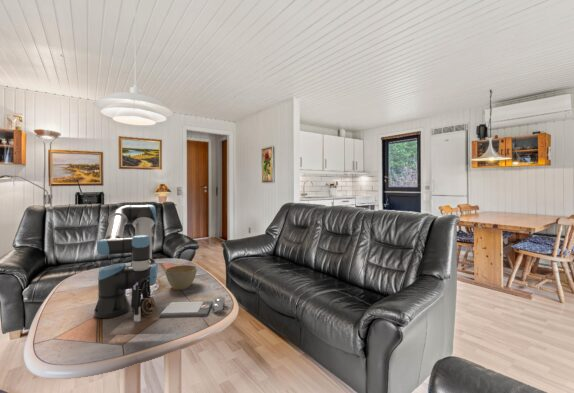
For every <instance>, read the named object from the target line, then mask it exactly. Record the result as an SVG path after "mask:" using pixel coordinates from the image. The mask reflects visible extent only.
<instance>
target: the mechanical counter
mask: <svg viewBox="0 0 574 393" xmlns="http://www.w3.org/2000/svg"><path fill="white" fill-rule="evenodd" d="M149 297H150V298H148V299H147V298H143V297H142V298H141V301H140V306H141V318H145V317H148V316H150V315H152V314H153V312H155V311H156V310H157V309H158V308H157V304H156V301H155V299H154V296H149ZM131 311H132V314H134V308H131Z"/></svg>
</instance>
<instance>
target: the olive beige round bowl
mask: <svg viewBox="0 0 574 393" xmlns="http://www.w3.org/2000/svg"><path fill="white" fill-rule="evenodd" d="M197 270H198V267H197V266H195V265H191V264H190V265H189V264H184V265H183V264H181V265H175V266H169V267H168V268H166V269H165V276H166V280H167V282H168V283H169V285H170V286H171V288H172V289H173V290H176V291H182V290H186V289H188V288H190V287H191V285H192V284H193V282H194V281H195V278H196V274H197Z"/></svg>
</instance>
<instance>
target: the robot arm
mask: <svg viewBox="0 0 574 393" xmlns="http://www.w3.org/2000/svg"><path fill="white" fill-rule="evenodd" d="M107 222H108V226H107V230H106V233H105V236H104V238H103V239H99V240H98V241H97V244H96V251H97V252H96V253H97V255H98V256H111V255H112V256H113V255H121V254H123V255H124V254H131V263H130V265H126V263H124V262H123V263H122V262H120V263H114V264H110V265H106V266H104V267H102V268H100V270H99V271H98V278H97V280H98V281H97V283H98V284H97V285H98V297H97V298H98V299H97V302H96V305H95V307H94V311H93V314H94V315H93V316H94V317H95V318H98V319H108V318H113V317H118V316H120V315H121V316H122V315H124V314H125V313H126V314H127V312H128V311H130V308H131V309H132V308H134V313H133V322H141V320H142V316H141V306H140V301H141V299H143V298H147V299H148V298H150V297H152V296H151V294H152V293H151V287H153V286H154V285H156V283H157V280H158V279H157V277H158V268H159V264H158V263H157V262H156V261H155V259H153V244H152V243H153V242H152V240H153V238H152V235H153V234H152V232H153V231H152V230H153V229H152V228H153V226H154V225H155V224H156V223H157V222H158V221H157V209H156V207H155V205H154V204H126V205H122V206H119V207H117V208H115V209H114V210H113V211H112V212H111V213H110V214H109V216H108V220H107ZM126 225H132V226H133V227H134V229H135V230H134V236H132V237H124V233H125V232H124V231H125V226H126ZM126 290H131V299H130V301H131V302H130V301H129V298H128V297H127V293H126Z"/></svg>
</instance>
